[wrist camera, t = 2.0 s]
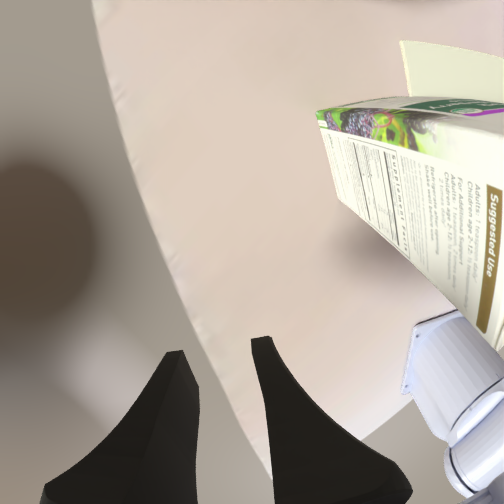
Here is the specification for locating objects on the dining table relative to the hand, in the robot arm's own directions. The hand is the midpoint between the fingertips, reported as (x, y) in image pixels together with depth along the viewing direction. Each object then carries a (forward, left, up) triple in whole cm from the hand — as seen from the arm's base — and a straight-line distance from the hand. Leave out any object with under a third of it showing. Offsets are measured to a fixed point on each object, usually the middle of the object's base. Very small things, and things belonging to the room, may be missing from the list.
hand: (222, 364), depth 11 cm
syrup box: (+5, -10, -10) cm, 15 cm away
